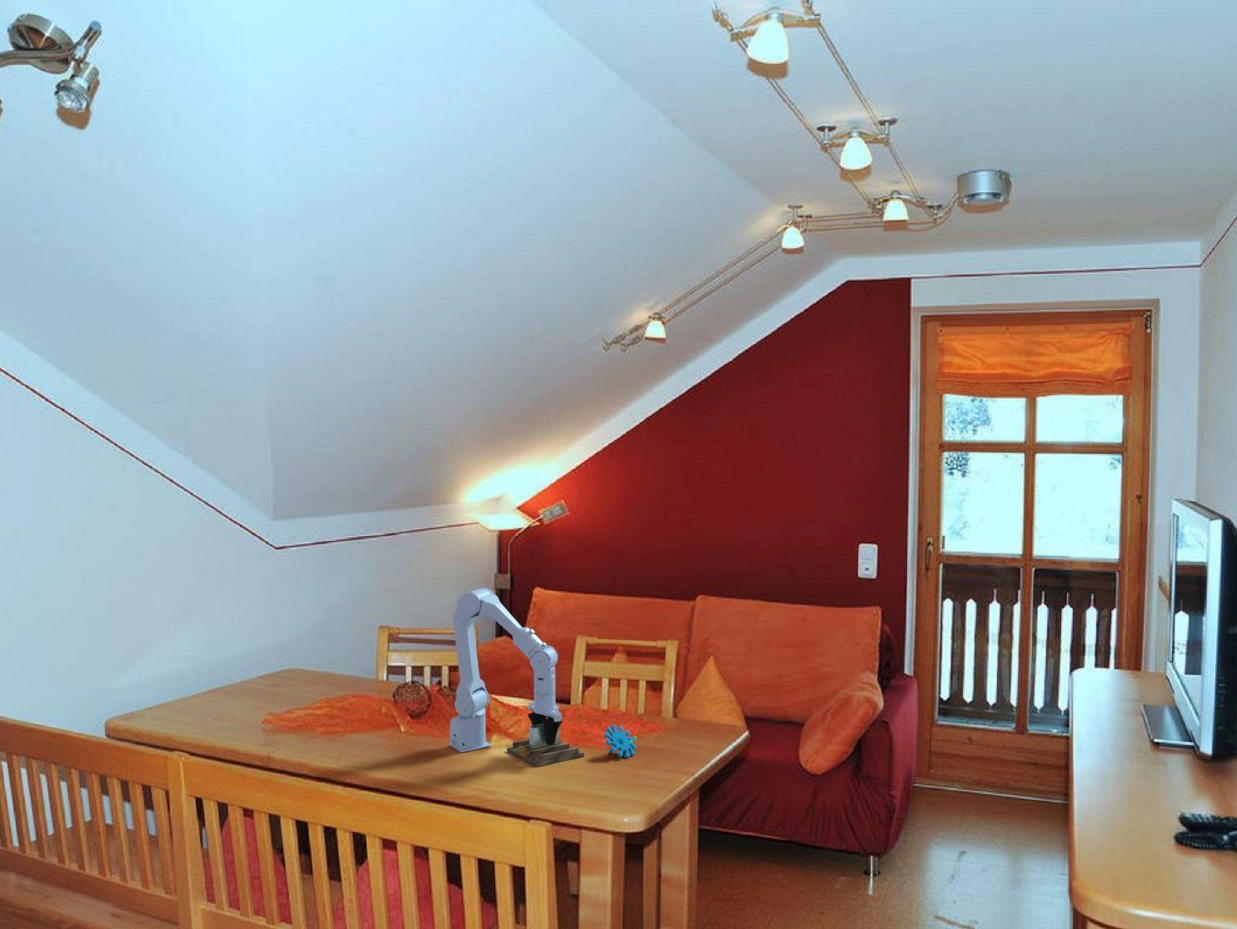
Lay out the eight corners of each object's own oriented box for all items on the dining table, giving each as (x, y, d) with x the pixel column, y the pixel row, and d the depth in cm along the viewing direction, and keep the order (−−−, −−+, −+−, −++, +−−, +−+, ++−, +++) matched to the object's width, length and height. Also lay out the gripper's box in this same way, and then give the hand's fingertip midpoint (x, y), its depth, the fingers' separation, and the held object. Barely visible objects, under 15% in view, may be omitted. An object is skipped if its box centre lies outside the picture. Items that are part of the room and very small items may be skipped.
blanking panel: (534, 754, 280) (533, 728, 279) (529, 751, 282) (529, 726, 281) (559, 748, 284) (559, 723, 284) (554, 746, 286) (554, 721, 286)
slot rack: (535, 767, 272) (535, 755, 272) (507, 751, 285) (506, 740, 285) (584, 756, 281) (584, 745, 280) (554, 741, 294) (553, 731, 294)
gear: (616, 756, 275) (601, 724, 281) (604, 768, 278) (590, 736, 284) (646, 753, 283) (631, 721, 288) (634, 765, 285) (619, 733, 291)
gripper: (571, 695, 279) (571, 745, 279) (544, 684, 291) (544, 732, 291) (548, 699, 275) (549, 750, 275) (521, 688, 287) (522, 736, 287)
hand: (545, 741), depth 283 cm, fingers open, 5 cm apart
